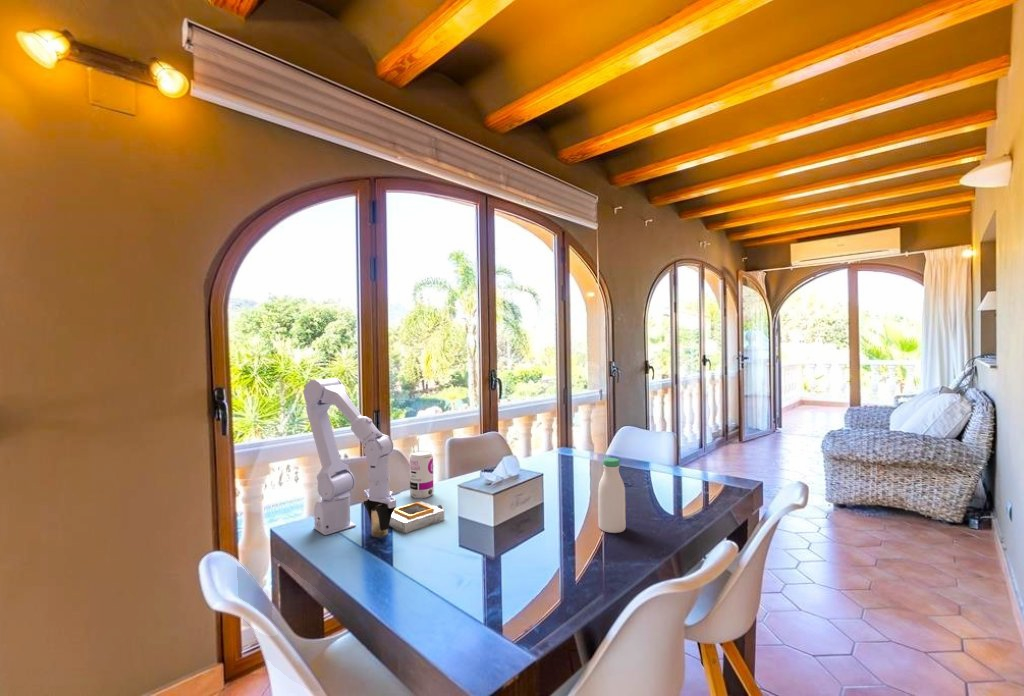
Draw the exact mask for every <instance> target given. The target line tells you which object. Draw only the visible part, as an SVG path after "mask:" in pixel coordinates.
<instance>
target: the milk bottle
mask: <svg viewBox="0 0 1024 696" xmlns="http://www.w3.org/2000/svg"><path fill="white" fill-rule="evenodd" d="M602 463H603V464H602V465H603V472H602V475H601V478H600V480H599V482H598V488H597V489H598V491H597V495H598V496H597V498H598V499H597V500H598V501H597V505H598V507H597V513H598V514H597V515H598V516H597V518H598V520H597V521H598V528H599V530H601V531H603V532H606V533H609V534H617V533H622V532H624V531H625V530H626V529H627V528H626V527H627V525H626V524H627V523H626V519H627V517H626V514H627V513H626V511H627V510H626V509H627V508H626V507H627V506H626V505H627V504H626V487H625V483H624V481H623V479H622V476H621V474H620V470H619V469H620V464H621V463H620V459H619V458H616V457H606V458H603V461H602Z"/></svg>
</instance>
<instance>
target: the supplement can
mask: <svg viewBox="0 0 1024 696" xmlns="http://www.w3.org/2000/svg"><path fill="white" fill-rule="evenodd" d="M434 491H435V490H434V456H433V455H432V452H431V451H428V450H419V451H413V452H411V454H410V456H409V494H410V496H411V497H412V498H415V499H426V498H430V497H431V496H432V495H433V494H434Z"/></svg>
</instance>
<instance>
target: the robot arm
mask: <svg viewBox="0 0 1024 696" xmlns="http://www.w3.org/2000/svg"><path fill="white" fill-rule="evenodd" d="M346 387H347V386H345V385H344V384H343V383H342V381H341V380H340V379H339V378H337V377H332V378H324V379H310V380H309V381H308V382H307V383H306V385H305V387H304V389H303V391H302V393H303V397H304V400H305V404H306V407H305V408H306V415H307V417H308V422H309V425H310V428H311V431H312V432H311V433H312V435H313V440H314V443H315V447H316V450H317V451H316V452H317V455H318V457H319V461H320V464H321V469H320V471H319V472H318V474H317V475H316V479H317V493H318V495H319V496H320V498H321V499H320V500H319V501H316V502H315V504H314V509H313V510H314V513H313V515H314V526H313V529H315V530H316V531H318V532H319V533H320V534H322V535H324V536H327V535H330V534H334V533H337V532H341V531H344V530H348V529H351V528H354V527H356V526H357V525H356V523H354V522H353V521H351V503H350V502H351V494H352V490H354V488H355V486H356V477H355V475H354V473H352V472H351V469H350V466H349V465H348V464H346V463H345V462H343V461H342V459H341V456H340V452H339V449H338V445H337V441H336V439H335V435H334V431H333V430H334V429H333V427H332V425H331V420H330V418H329V417H330V416H329V414H328V411H329V409H330V407H331V406H332V405H334V406H335V407H336V408H337V409H338V411H340V412H341V414H342V415H343V416H344V417H345V418H346V419H347V420H348V421H349V422H350V423H351V425H350V430H351V431H352V433H353V434H354V436H355V437H356V439H358V441H360V444H361V445H363V447H364V448H363V454H364V456H365V457H366V460H367V461H366V462H367V465H368V489H364V490H363V497H364V498H367V500H364V501H363V502H362V504H363V506H364V507H365V509H366V511H367V514H368V517H369V521H370V525H371V526H372V522H371V510H372V509H373V508H375V509H376V511H377V514H378V517H379V525H380V530H381V531H383V530H386V529H388V530H389V527H390V526H389V523H390V519H391V516H392V513H393V511H394V509H396V507H397V499H396V498H395V497H394V496H393V495H394V492H393V491H391V488H390V487H391V486H390V485H391V483H390V481H391V480H390V479H391V478H390V477H391V476H390V454H391V453H392V452H393V450H394V442H393V439H392V438H391V437H390V436H389V435H387V434H384V433H382V432H381V431H380V430H379V429H378V428H377V426H376V425H375V424H374V422H373V420H372V418H371V417H368V416H364V415H362V414H361V413H360V411H359V410H358V408H357V407H356V406H355V404H354V402H353V401H352V400H351V398H350V397H349V395H348V393H347V392H346ZM380 504H382V505H380ZM376 505H379V506H376ZM375 506H376V507H375Z"/></svg>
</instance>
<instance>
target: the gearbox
mask: <svg viewBox="0 0 1024 696" xmlns="http://www.w3.org/2000/svg"><path fill="white" fill-rule="evenodd" d="M442 521H445V509H443V506H442V505H441V504H438V505H433V504H430V503H427V502H424V501H416V502H413V503H410V504H406V505H403V506H399V507H397V508H395V509H394V511H393V513H392V516H391V519H390V523H389V527H391V528H393V529H395V530H396V531H400V532H401V533H402V534H408V533H410V532H413V531H416V530H419V529H422V528H425V527H428V526H430V525H433V524H436V523H440V522H442Z"/></svg>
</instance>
